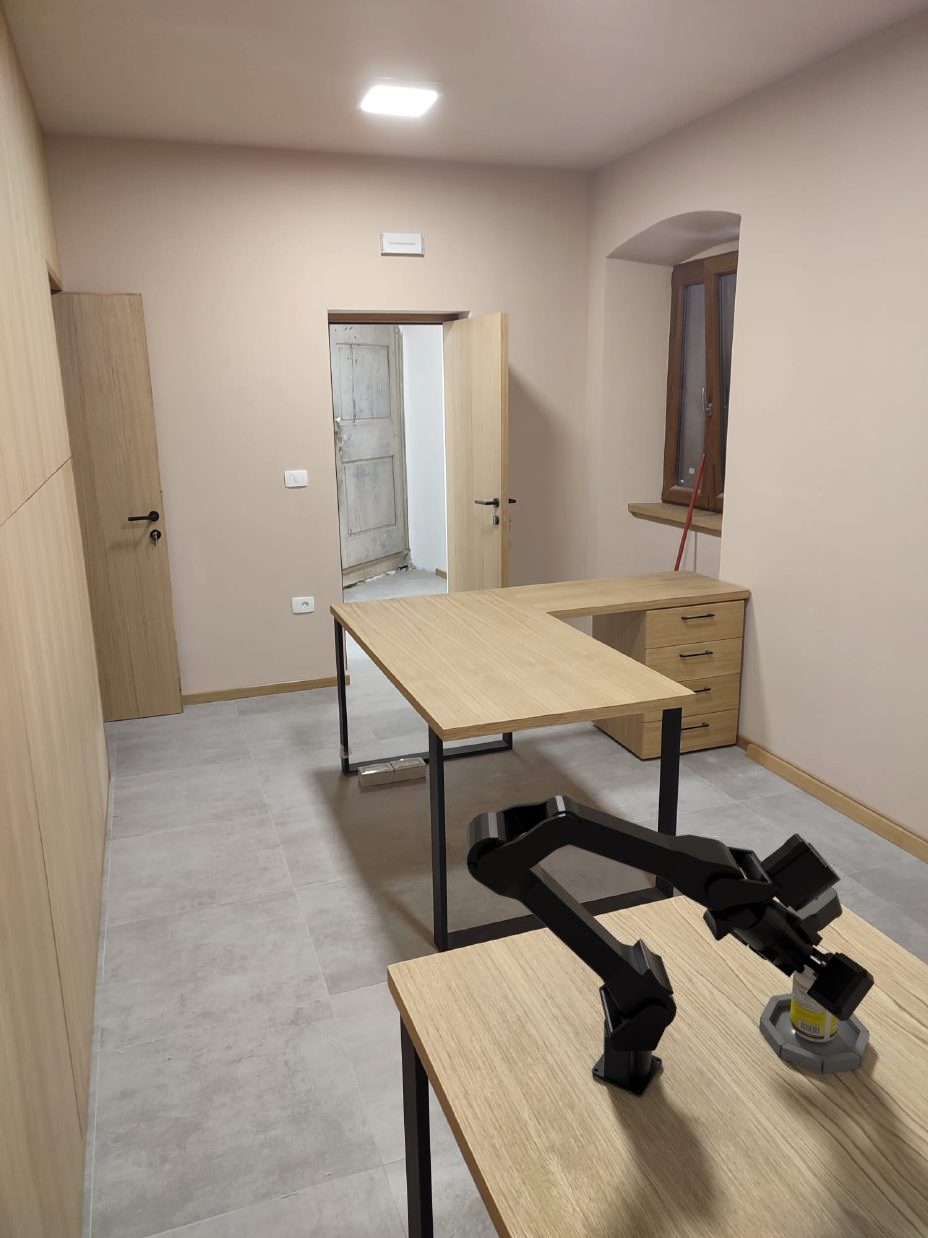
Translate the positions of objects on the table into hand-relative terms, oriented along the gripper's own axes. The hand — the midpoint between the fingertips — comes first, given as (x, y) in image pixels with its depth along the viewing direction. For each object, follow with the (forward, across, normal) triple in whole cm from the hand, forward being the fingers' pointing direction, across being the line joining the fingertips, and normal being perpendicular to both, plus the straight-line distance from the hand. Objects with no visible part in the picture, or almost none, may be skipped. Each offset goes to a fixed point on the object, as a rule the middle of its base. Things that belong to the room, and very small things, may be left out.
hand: (825, 979), depth 107 cm
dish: (+5, 0, +6) cm, 8 cm away
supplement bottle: (+4, 0, +6) cm, 7 cm away
